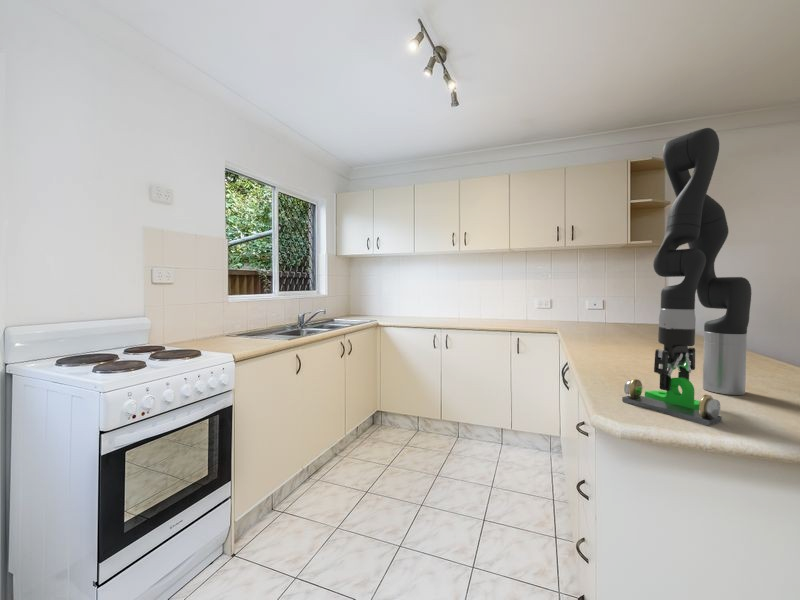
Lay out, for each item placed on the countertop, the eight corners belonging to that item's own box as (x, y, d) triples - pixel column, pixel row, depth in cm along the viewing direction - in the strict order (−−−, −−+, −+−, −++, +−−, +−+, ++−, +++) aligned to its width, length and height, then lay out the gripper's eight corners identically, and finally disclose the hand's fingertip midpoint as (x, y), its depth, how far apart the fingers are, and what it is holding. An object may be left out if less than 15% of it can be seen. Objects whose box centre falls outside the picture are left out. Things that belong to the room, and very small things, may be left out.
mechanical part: (707, 411, 88) (708, 379, 88) (687, 413, 87) (687, 380, 86) (663, 397, 100) (663, 368, 99) (644, 398, 98) (645, 369, 98)
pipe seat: (634, 398, 98) (635, 376, 98) (721, 421, 81) (722, 395, 81) (622, 401, 95) (622, 379, 95) (709, 426, 78) (709, 398, 78)
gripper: (675, 324, 99) (673, 382, 100) (644, 325, 93) (642, 387, 94) (708, 326, 93) (705, 389, 93) (677, 328, 86) (675, 395, 87)
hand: (674, 388), depth 93 cm, fingers open, 8 cm apart
